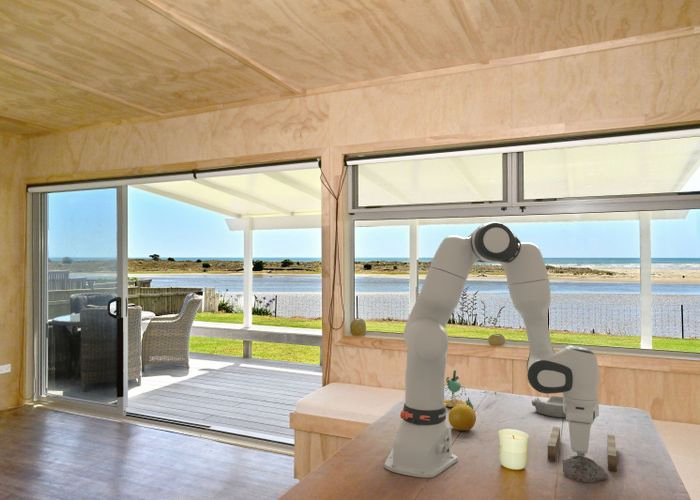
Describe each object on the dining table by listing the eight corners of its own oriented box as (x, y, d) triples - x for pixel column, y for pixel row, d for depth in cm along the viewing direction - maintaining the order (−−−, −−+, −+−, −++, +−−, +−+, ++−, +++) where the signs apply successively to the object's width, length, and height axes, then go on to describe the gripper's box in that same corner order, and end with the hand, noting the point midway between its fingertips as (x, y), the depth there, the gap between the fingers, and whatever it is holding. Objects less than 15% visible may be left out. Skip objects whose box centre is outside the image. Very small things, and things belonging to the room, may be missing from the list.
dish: (528, 412, 186) (528, 398, 186) (547, 405, 194) (547, 392, 195) (566, 422, 174) (566, 407, 175) (584, 414, 183) (584, 400, 183)
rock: (562, 466, 136) (562, 451, 136) (607, 474, 131) (607, 458, 131) (560, 479, 128) (560, 463, 128) (608, 488, 123) (608, 471, 123)
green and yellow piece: (458, 414, 182) (455, 373, 184) (432, 407, 199) (430, 368, 200) (480, 411, 186) (477, 370, 187) (453, 404, 202) (450, 366, 204)
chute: (616, 471, 132) (616, 456, 132) (547, 459, 140) (547, 445, 140) (615, 449, 148) (614, 435, 149) (553, 439, 156) (553, 426, 156)
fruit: (447, 432, 162) (447, 407, 163) (449, 424, 170) (449, 400, 170) (475, 435, 160) (475, 409, 160) (476, 427, 167) (476, 403, 168)
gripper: (570, 396, 146) (570, 444, 146) (565, 415, 128) (565, 470, 128) (594, 399, 144) (594, 448, 143) (593, 418, 125) (593, 474, 125)
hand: (581, 458), depth 135 cm, fingers closed
